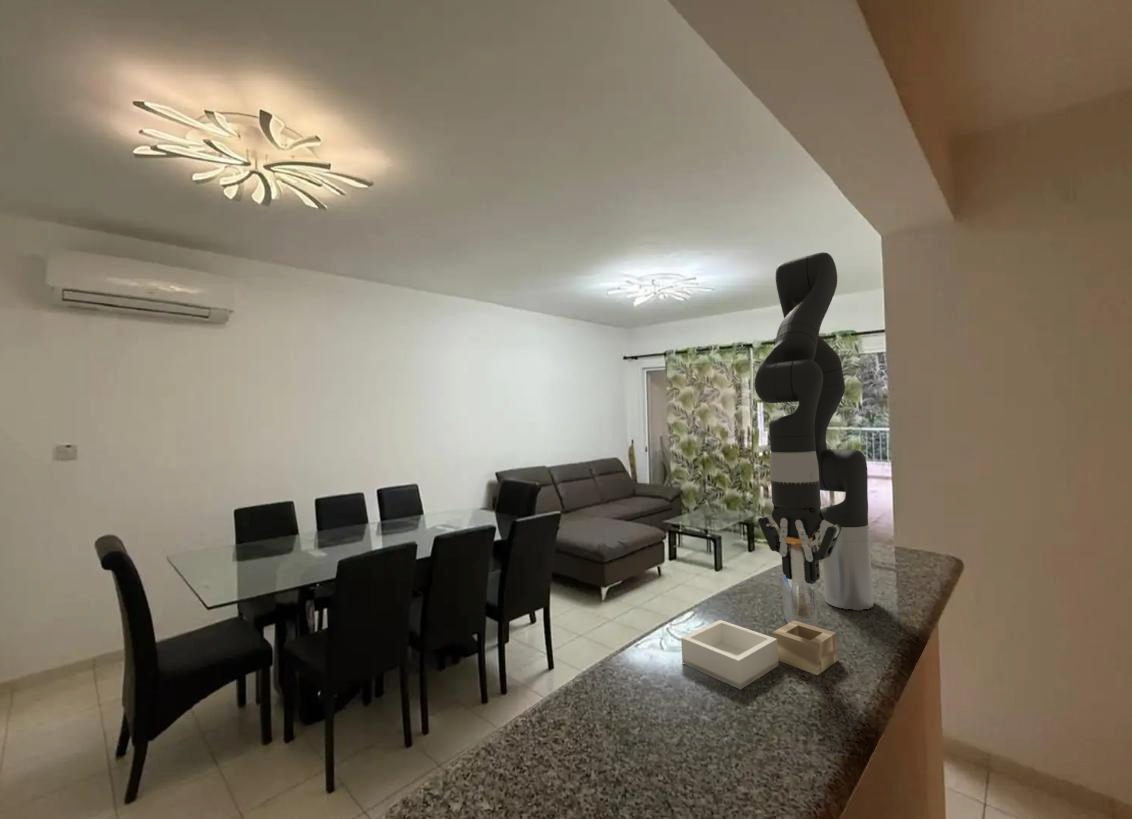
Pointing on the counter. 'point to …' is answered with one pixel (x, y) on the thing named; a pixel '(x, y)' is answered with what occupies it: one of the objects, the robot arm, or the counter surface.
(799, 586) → the pin
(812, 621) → the medicine box
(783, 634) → the pin block
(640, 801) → the counter surface
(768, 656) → the tray
